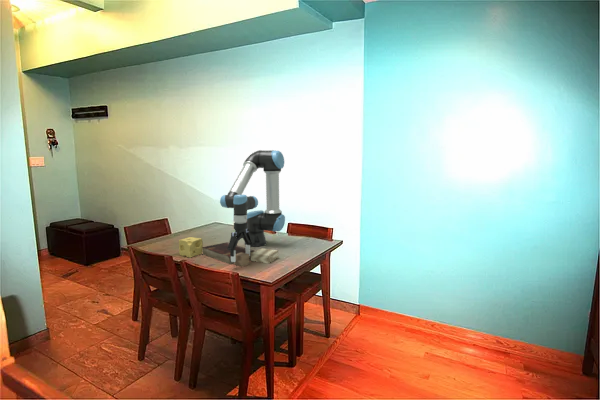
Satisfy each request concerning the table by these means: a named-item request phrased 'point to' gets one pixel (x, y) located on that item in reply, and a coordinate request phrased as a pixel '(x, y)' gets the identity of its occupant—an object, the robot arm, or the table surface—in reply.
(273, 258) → the birch block
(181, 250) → the cheese
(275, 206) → the robot arm
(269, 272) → the table surface
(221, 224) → the table surface
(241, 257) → the walnut cube
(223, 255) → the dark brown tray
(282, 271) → the table surface
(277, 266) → the table surface
